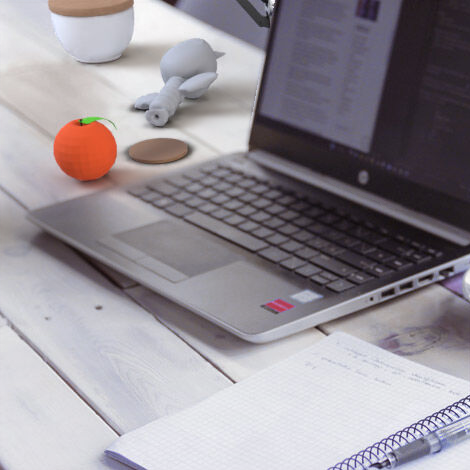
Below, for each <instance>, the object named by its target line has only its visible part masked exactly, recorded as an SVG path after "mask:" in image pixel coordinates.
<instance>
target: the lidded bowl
mask: <svg viewBox="0 0 470 470" xmlns="http://www.w3.org/2000/svg"><path fill="white" fill-rule="evenodd" d="M134 4H135V0H47V6H48V10H49V13H50V19H51V24H52V27H53V32H54V34H55V36H56V39H57V41H58V42H59V44H60V45H61V47H62V48H63V49H64V50H65V51H66V52H67V53H69V54H70V55H71V56H73V57H74V60H75V61H76V62H77V61H78V62H80V63H86V64H101V63H108V62H112V61H116V60H118V59H119V58H122V55H123V52H124V51H125V50H126V49H127V48H128V47H129V45H130V43H131V41H132V39H133V36H134V31H135V9H134V8H135V7H134Z"/></svg>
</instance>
